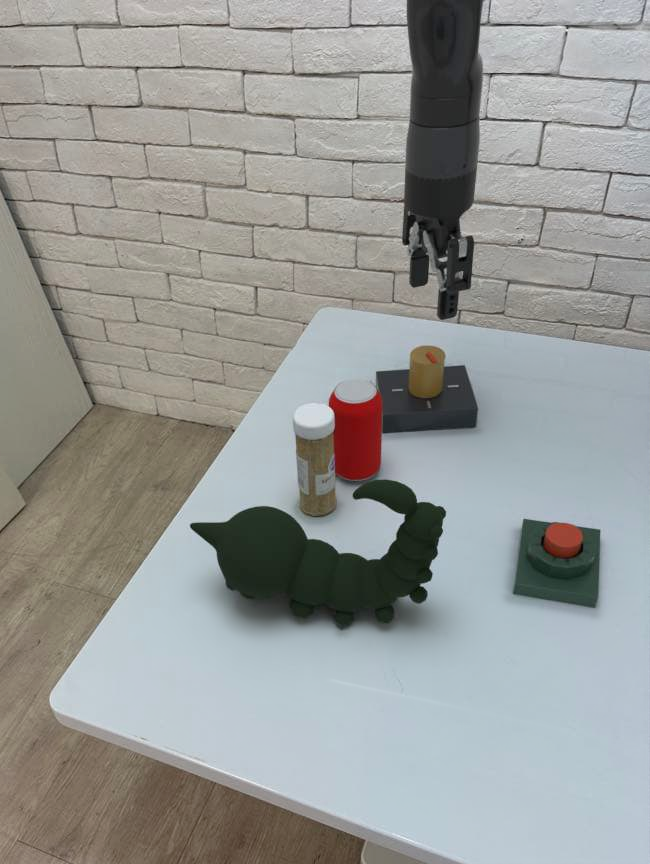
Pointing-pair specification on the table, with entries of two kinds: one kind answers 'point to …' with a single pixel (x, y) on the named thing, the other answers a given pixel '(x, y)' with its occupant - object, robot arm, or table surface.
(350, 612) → the toy figurine
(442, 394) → the panel
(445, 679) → the table surface
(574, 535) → the button
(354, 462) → the beverage can
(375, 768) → the table surface
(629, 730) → the table surface
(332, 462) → the spice jar
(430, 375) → the knob
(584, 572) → the button box
